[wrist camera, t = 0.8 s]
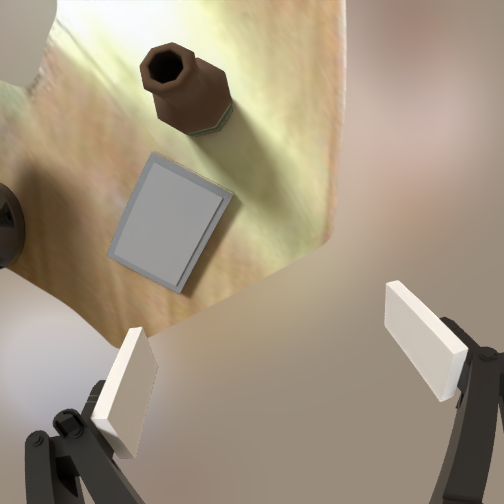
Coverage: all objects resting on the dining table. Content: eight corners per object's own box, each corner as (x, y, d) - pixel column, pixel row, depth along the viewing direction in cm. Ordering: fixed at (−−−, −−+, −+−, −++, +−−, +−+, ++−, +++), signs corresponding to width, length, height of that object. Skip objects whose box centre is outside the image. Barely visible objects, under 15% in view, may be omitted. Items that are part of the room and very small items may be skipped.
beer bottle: (211, 70, 37) (185, -10, 14) (244, 114, 39) (257, 77, 16) (163, 104, 38) (84, 65, 15) (196, 148, 40) (149, 154, 18)
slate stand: (110, 251, 44) (105, 256, 42) (155, 151, 40) (151, 151, 38) (181, 287, 47) (179, 294, 44) (233, 192, 42) (233, 194, 40)
